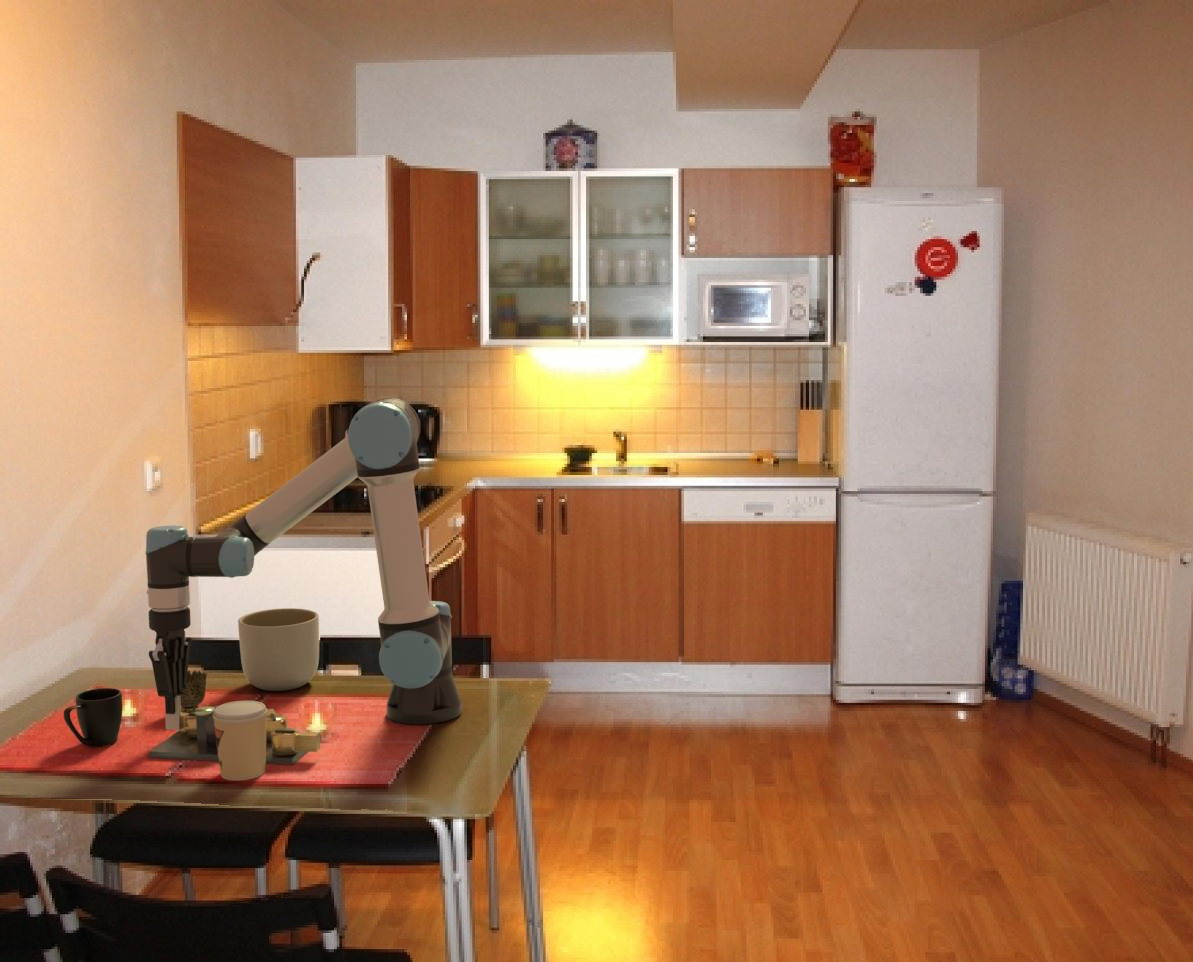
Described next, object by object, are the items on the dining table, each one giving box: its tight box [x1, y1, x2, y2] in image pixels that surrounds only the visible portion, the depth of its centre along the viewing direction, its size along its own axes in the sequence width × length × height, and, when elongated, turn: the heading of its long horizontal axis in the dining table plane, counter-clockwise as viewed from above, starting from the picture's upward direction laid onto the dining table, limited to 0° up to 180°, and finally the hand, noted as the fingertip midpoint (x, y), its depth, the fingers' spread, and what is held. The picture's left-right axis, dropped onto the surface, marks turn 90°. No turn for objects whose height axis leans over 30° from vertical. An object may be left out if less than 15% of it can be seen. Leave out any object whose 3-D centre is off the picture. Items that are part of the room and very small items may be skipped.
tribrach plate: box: [148, 705, 322, 766], centre depth 246 cm, size 28×14×8 cm, turn 80°
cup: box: [180, 669, 208, 713], centre depth 268 cm, size 8×7×8 cm
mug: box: [63, 687, 123, 748], centre depth 249 cm, size 8×12×10 cm
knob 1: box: [177, 712, 197, 738], centre depth 251 cm, size 9×5×4 cm, turn 69°
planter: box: [237, 607, 320, 692], centre depth 286 cm, size 17×17×15 cm
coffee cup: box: [213, 700, 268, 782], centre depth 233 cm, size 9×9×12 cm
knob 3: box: [271, 727, 321, 755], centre depth 240 cm, size 9×5×4 cm, turn 80°
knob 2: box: [266, 708, 288, 740], centre depth 250 cm, size 9×5×4 cm, turn 23°
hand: (173, 728), depth 251 cm, fingers closed
